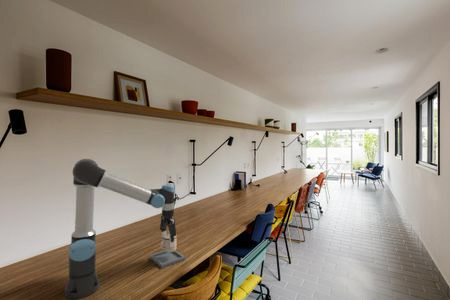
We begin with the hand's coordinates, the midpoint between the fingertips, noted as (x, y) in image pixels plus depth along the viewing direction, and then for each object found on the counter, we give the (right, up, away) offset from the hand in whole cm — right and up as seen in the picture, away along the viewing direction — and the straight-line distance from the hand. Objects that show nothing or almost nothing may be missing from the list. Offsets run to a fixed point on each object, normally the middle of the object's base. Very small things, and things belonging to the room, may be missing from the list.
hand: (167, 244), depth 158 cm
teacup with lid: (0, -4, 0) cm, 4 cm away
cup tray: (0, -10, 0) cm, 10 cm away
